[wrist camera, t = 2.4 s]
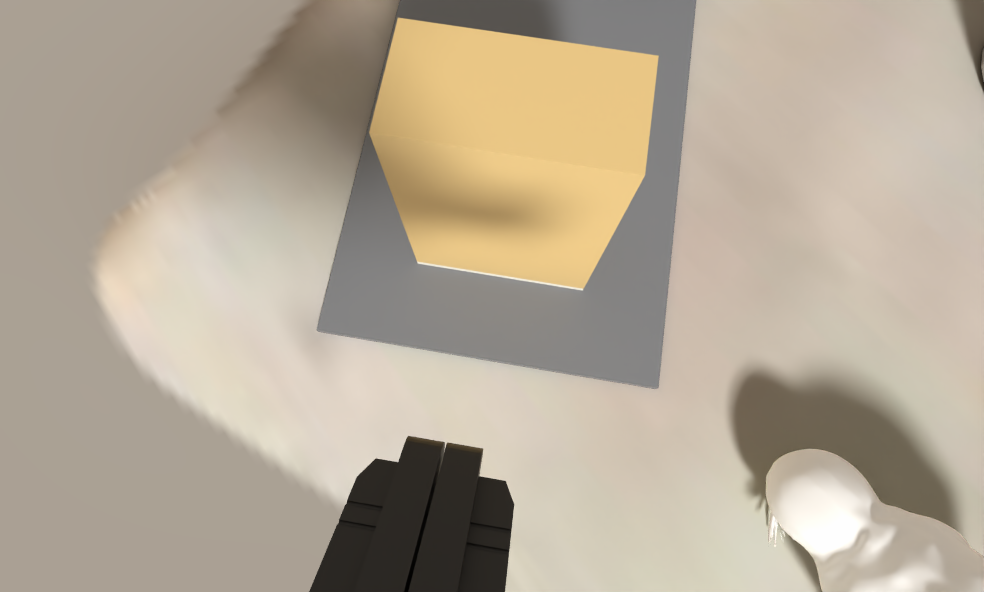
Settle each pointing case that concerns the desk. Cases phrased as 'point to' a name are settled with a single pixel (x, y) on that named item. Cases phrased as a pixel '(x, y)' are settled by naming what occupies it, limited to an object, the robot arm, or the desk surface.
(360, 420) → the desk surface
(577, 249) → the ochre block
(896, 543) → the white figurine
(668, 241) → the charcoal mat
